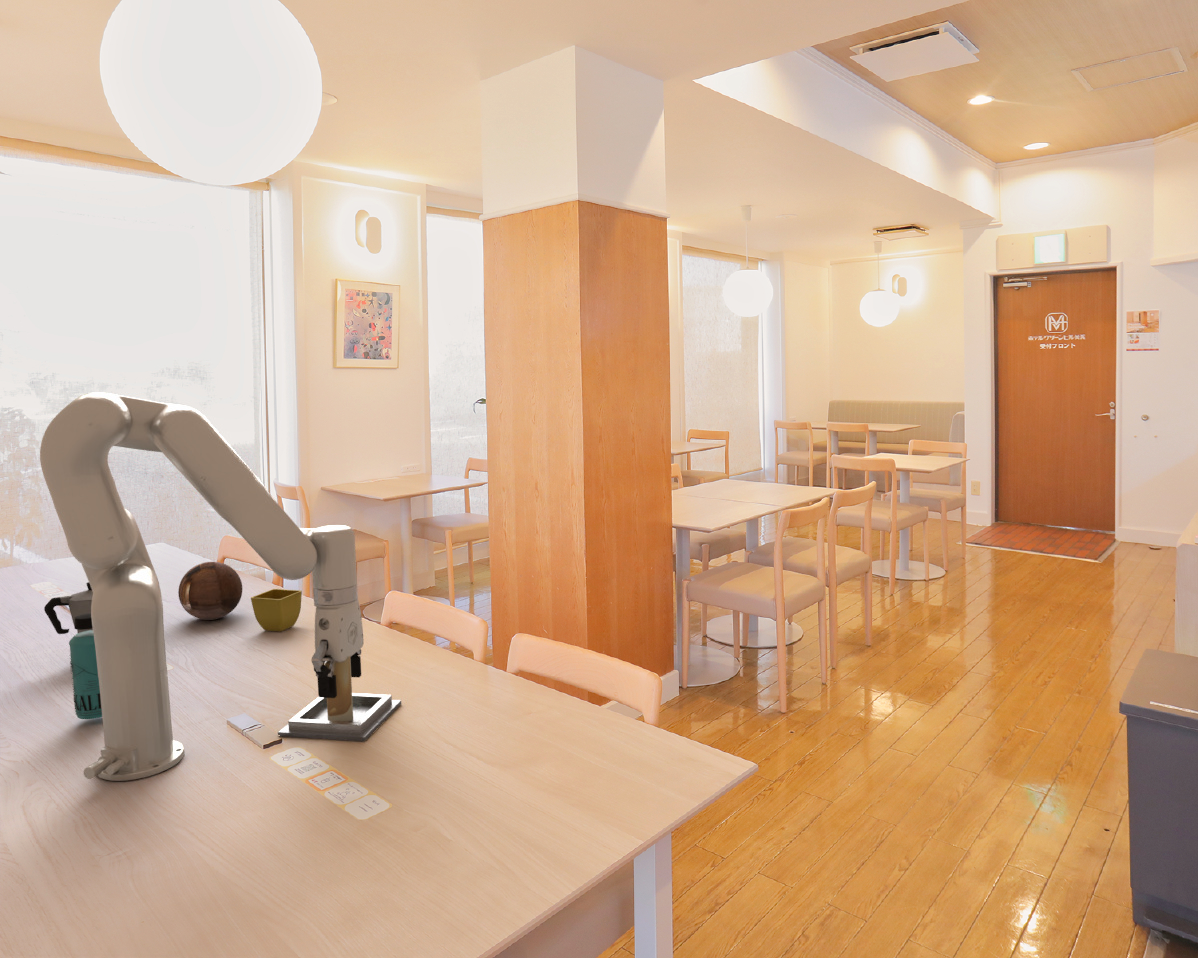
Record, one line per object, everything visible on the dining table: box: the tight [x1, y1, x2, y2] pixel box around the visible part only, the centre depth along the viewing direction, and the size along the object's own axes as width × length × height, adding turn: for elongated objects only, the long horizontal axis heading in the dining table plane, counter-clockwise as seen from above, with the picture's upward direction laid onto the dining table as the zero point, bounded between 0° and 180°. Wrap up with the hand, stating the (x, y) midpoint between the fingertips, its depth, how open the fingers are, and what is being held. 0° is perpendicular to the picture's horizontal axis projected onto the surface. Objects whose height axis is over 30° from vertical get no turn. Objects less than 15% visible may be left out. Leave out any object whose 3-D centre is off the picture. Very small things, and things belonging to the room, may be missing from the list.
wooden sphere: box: [177, 561, 243, 621], centre depth 209 cm, size 15×15×15 cm
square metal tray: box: [277, 692, 402, 743], centre depth 147 cm, size 16×16×2 cm
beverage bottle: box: [68, 613, 102, 720], centre depth 146 cm, size 6×7×20 cm
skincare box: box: [324, 656, 353, 721], centre depth 145 cm, size 6×4×12 cm
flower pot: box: [250, 588, 303, 633], centre depth 200 cm, size 9×9×9 cm
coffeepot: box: [43, 581, 93, 635], centre depth 177 cm, size 15×9×18 cm, turn 129°
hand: (340, 686), depth 146 cm, fingers open, 9 cm apart
